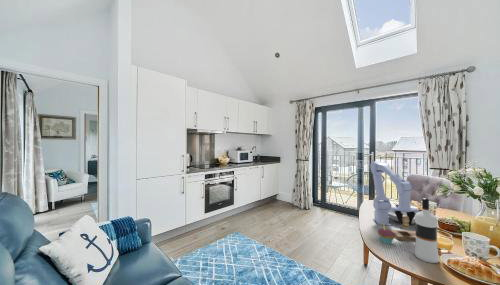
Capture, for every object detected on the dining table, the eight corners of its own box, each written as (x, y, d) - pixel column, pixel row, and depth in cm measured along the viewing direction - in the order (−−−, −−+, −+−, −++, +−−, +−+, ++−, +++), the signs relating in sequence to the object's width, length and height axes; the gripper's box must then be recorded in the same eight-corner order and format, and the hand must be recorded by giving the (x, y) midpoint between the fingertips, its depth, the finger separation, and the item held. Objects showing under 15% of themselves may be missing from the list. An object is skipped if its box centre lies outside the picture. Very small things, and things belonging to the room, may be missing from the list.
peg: (399, 226, 121) (398, 215, 121) (407, 226, 120) (406, 215, 120) (402, 229, 117) (402, 217, 117) (411, 229, 116) (410, 218, 116)
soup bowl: (408, 215, 152) (408, 207, 152) (434, 229, 128) (434, 219, 128) (376, 214, 155) (376, 206, 155) (396, 228, 131) (396, 218, 131)
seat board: (390, 232, 124) (390, 229, 124) (421, 234, 121) (421, 231, 121) (398, 239, 115) (398, 236, 115) (433, 242, 112) (432, 238, 112)
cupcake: (387, 246, 108) (387, 225, 108) (374, 239, 116) (373, 219, 116) (399, 244, 110) (398, 223, 110) (385, 237, 119) (384, 217, 119)
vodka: (413, 258, 97) (412, 198, 97) (414, 251, 103) (413, 194, 103) (439, 266, 90) (438, 202, 90) (439, 257, 97) (438, 198, 97)
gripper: (395, 202, 116) (395, 225, 116) (422, 203, 113) (422, 227, 113) (388, 199, 123) (389, 220, 123) (414, 200, 120) (414, 222, 120)
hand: (404, 223), depth 119 cm, fingers closed on peg, 4 cm apart
